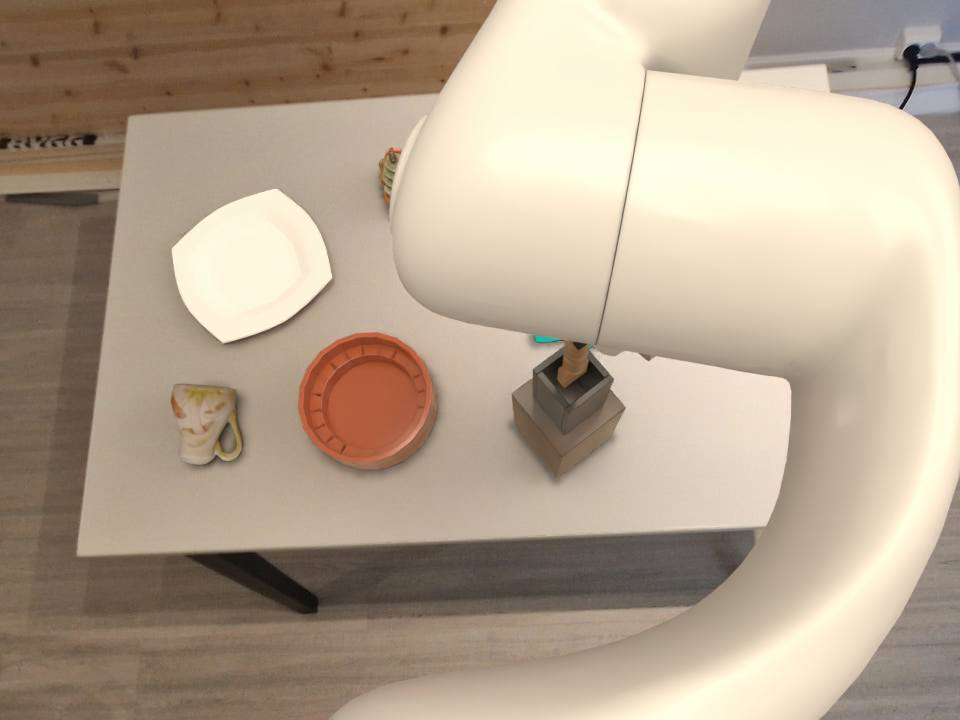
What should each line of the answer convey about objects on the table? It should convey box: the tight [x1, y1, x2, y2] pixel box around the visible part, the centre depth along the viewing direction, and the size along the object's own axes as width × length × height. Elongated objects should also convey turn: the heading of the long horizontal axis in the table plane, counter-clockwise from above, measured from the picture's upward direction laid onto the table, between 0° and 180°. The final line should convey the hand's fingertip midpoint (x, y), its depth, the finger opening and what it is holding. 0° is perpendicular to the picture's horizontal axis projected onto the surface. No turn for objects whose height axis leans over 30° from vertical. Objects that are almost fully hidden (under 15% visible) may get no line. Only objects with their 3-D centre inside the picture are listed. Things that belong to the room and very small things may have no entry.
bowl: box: [297, 331, 438, 471], centre depth 82 cm, size 15×15×6 cm
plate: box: [170, 187, 333, 344], centre depth 91 cm, size 19×19×2 cm
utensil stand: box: [510, 345, 627, 479], centre depth 72 cm, size 8×8×23 cm
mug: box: [170, 383, 243, 466], centre depth 83 cm, size 8×10×10 cm
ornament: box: [378, 146, 402, 209], centre depth 89 cm, size 8×6×10 cm
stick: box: [557, 340, 590, 388], centre depth 51 cm, size 2×2×18 cm
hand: (581, 320), depth 48 cm, fingers closed on stick, 1 cm apart
